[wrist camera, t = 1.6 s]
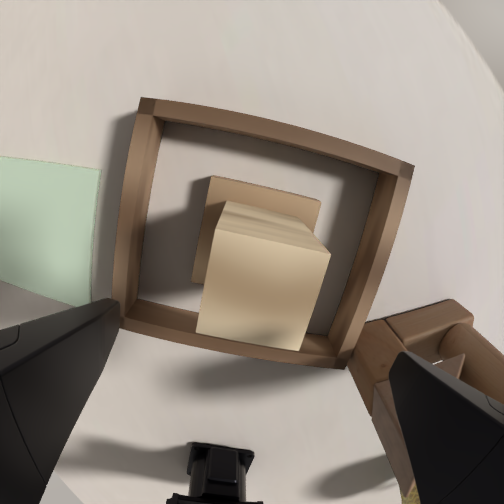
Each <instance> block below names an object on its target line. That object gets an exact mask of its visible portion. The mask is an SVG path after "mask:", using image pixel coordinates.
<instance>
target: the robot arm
mask: <svg viewBox="0 0 504 504" xmlns="http://www.w3.org/2000/svg"><path fill="white" fill-rule="evenodd" d="M119 326H120V302H119V301H117V300H114V299H110V298H105V299H101V300H98V301H95V302H92V303H88V304H85V305H82V306H78V307H75V308H72V309H69V310H65V311H62V312H59V313H55V314H52V315H49V316H46V317H42V318H39V319H36V320H32V321H29V322H26V323H22V324H20V326H19V325H16V326H12V327H9V328H6V329H2V330H0V504H39V503H40V501H41V498H42V496H43V493H44V491H45V488H46V485H47V484H48V481H49V479H50V477H51V474H52V472H53V470H54V468H55V466H56V463H57V461H58V459H59V457H60V455H61V453H62V450H63V448H64V446H65V444H66V442H67V440H68V438H69V436H70V434H71V432H72V430H73V428H74V426H75V424H76V422H77V420H78V418H79V416H80V414H81V412H82V410H83V408H84V406H85V404H86V402H87V400H88V398H89V396H90V394H91V392H92V390H93V388H94V387H95V385H96V383H97V381H98V379H99V377H100V375H101V373H102V371H103V369H104V367H105V364H106V362H107V359H108V356H109V354H110V351H111V349H112V346H113V344H114V341H115V339H116V336H117V334H118V331H119ZM388 376H389V382H390V386H391V391H392V396H393V401H394V406H395V410H396V414H397V418H398V421H399V425H400V428H401V431H402V435H403V438H404V442H405V445H406V449H407V452H408V456H409V460H410V463H411V467H412V471H413V475H414V479H415V483H416V487H417V491H418V495H419V500H420V504H504V405H503V404H501V403H500V402H498V401H496V400H494V399H492V398H491V397H489V396H487V395H485V394H484V393H482V392H480V391H478V390H477V389H475V388H473V387H471V386H470V385H468V384H466V383H464V382H463V381H461V380H459V379H457V378H456V377H454V376H452V375H450V374H449V373H447V372H445V371H443V370H442V369H440V368H438V367H436V366H435V365H433V364H431V363H429V362H428V361H426V360H424V359H423V358H421V357H419V356H417V355H416V354H414V353H412V352H408V351H401V352H399V353H398V355H397V357H396V359H395V361H394V362H393V364H392V366H391V368H390V370H389V375H388ZM253 459H254V452H253V451H247V450H239V449H231V448H224V447H218V446H211V445H205V444H200V443H193V444H192V447H191V452H190V458H189V463H188V469H187V474H188V475H190V476H191V478H190V485H189V493H188V496H185V495H179V494H177V493H173V496H172V498H170V499H167V501H166V504H263V501H257V502H246V474H247V472H248V470H249V467H250V465H251V463H252V461H253Z"/></svg>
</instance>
